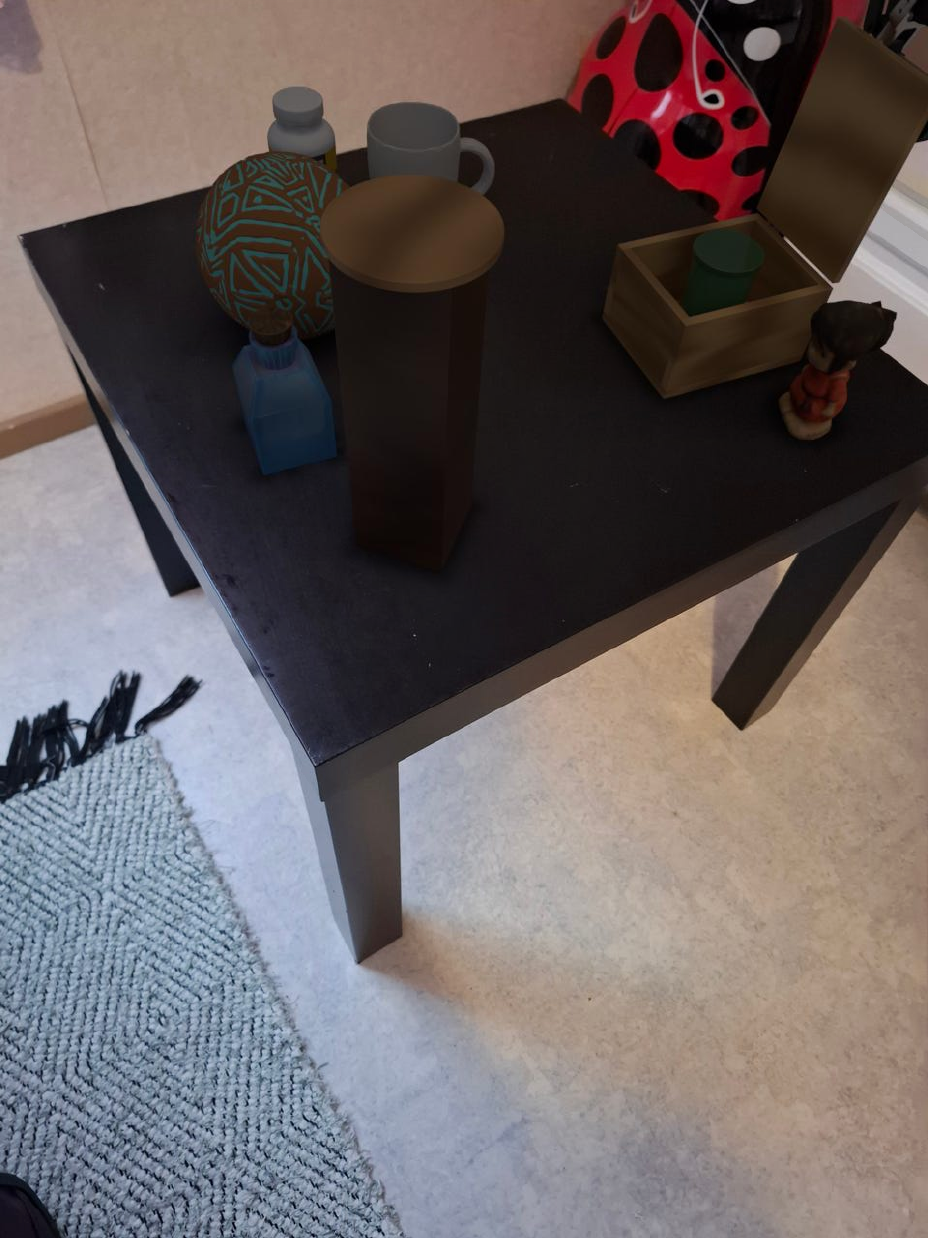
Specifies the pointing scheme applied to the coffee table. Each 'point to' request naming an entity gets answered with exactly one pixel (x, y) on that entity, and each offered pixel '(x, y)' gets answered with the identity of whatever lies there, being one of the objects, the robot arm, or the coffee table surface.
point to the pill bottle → (302, 126)
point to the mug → (421, 144)
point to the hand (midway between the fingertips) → (894, 119)
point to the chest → (716, 340)
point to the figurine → (832, 363)
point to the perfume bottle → (282, 395)
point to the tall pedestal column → (410, 354)
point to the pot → (720, 271)
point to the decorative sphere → (269, 239)
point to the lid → (845, 147)
